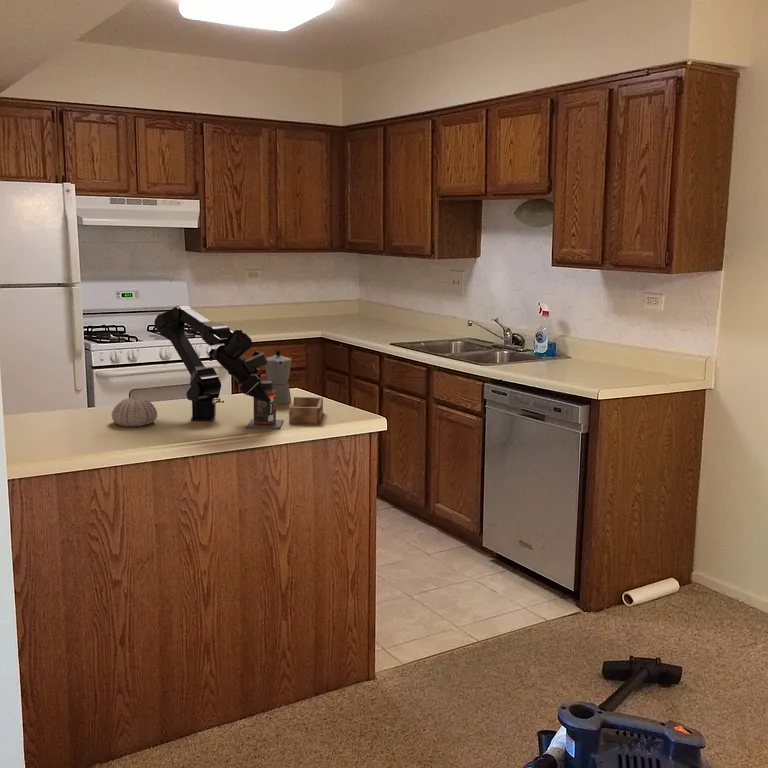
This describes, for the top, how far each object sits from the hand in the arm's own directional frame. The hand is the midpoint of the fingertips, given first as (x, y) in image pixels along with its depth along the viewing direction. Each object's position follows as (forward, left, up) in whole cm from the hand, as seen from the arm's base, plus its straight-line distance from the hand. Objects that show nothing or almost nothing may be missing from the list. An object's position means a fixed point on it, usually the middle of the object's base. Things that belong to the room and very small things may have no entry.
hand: (269, 398), depth 253 cm
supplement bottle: (-1, 0, -8) cm, 8 cm away
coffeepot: (-1, +34, -8) cm, 35 cm away
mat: (-1, 0, -8) cm, 8 cm away
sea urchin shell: (-40, -2, -8) cm, 41 cm away
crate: (+11, +10, -8) cm, 17 cm away
